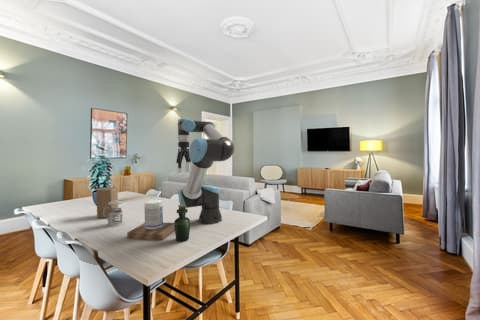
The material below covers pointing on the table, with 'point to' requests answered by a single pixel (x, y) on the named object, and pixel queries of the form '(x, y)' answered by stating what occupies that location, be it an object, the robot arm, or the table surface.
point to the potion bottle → (182, 224)
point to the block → (106, 200)
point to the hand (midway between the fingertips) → (184, 172)
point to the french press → (116, 212)
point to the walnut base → (151, 232)
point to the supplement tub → (153, 214)
